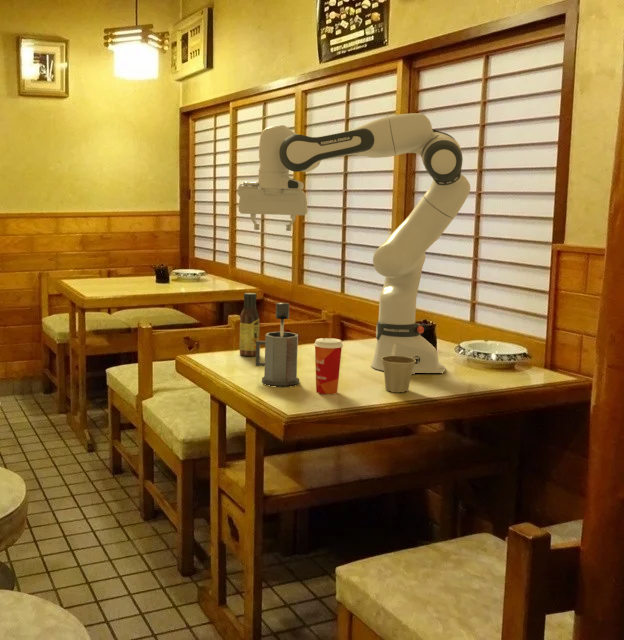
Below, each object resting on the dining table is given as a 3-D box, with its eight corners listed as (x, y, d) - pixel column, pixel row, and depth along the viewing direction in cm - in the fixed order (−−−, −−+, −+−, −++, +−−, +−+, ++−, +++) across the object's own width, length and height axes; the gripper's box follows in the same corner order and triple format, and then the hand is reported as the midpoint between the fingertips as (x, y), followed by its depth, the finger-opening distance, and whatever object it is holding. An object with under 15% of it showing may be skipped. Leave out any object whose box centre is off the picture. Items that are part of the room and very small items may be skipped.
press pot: (300, 378, 223) (301, 332, 221) (298, 388, 213) (299, 339, 211) (257, 377, 224) (258, 330, 222) (253, 386, 214) (254, 337, 211)
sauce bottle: (257, 357, 250) (259, 295, 247) (238, 356, 250) (239, 294, 247) (259, 353, 257) (261, 292, 253) (240, 352, 257) (241, 291, 254)
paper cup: (310, 388, 214) (312, 337, 211) (338, 388, 214) (340, 337, 212) (314, 395, 206) (315, 343, 204) (343, 395, 207) (345, 343, 204)
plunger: (292, 364, 221) (294, 302, 218) (291, 369, 215) (292, 305, 212) (271, 363, 221) (272, 301, 218) (269, 368, 215) (270, 304, 212)
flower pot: (420, 394, 211) (421, 362, 210) (387, 395, 209) (388, 363, 207) (406, 385, 220) (407, 355, 219) (374, 386, 218) (376, 356, 216)
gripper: (236, 181, 227) (236, 229, 230) (307, 183, 227) (306, 231, 229) (239, 182, 234) (239, 228, 236) (308, 183, 233) (307, 230, 235)
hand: (272, 230), depth 232 cm, fingers open, 8 cm apart
